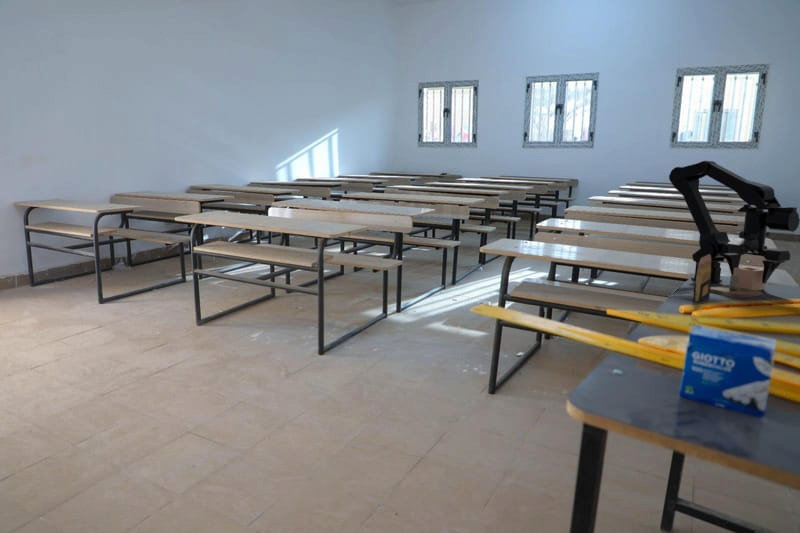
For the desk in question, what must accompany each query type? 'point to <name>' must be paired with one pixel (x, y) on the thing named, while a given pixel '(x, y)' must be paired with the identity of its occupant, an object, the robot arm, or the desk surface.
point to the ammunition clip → (703, 280)
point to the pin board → (735, 293)
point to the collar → (749, 278)
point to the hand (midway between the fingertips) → (748, 280)
